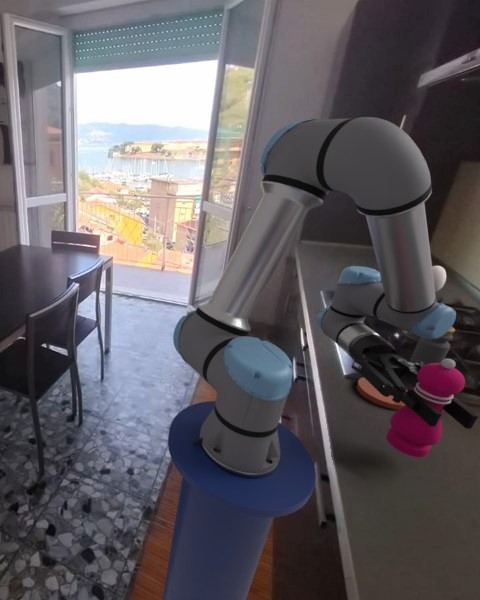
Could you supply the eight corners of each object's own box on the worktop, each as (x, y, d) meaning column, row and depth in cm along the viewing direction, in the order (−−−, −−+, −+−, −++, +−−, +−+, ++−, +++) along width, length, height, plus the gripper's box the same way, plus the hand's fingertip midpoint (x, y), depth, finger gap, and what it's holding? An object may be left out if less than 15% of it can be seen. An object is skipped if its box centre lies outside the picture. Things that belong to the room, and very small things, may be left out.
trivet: (366, 405, 86) (369, 400, 85) (349, 377, 95) (351, 373, 95) (421, 413, 83) (424, 408, 82) (398, 384, 92) (400, 380, 92)
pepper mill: (416, 464, 65) (465, 376, 57) (374, 436, 71) (413, 353, 63) (439, 452, 68) (489, 366, 59) (396, 426, 74) (437, 344, 66)
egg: (442, 294, 144) (455, 267, 139) (434, 298, 141) (446, 270, 136) (419, 288, 150) (431, 261, 145) (411, 291, 146) (422, 264, 142)
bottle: (439, 382, 93) (465, 333, 87) (413, 380, 94) (437, 331, 88) (423, 369, 98) (447, 322, 92) (400, 367, 99) (421, 320, 93)
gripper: (402, 363, 82) (500, 441, 61) (320, 359, 84) (389, 434, 63) (414, 335, 79) (523, 407, 58) (329, 331, 80) (405, 400, 59)
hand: (453, 421), depth 60 cm, fingers closed on pepper mill, 5 cm apart
